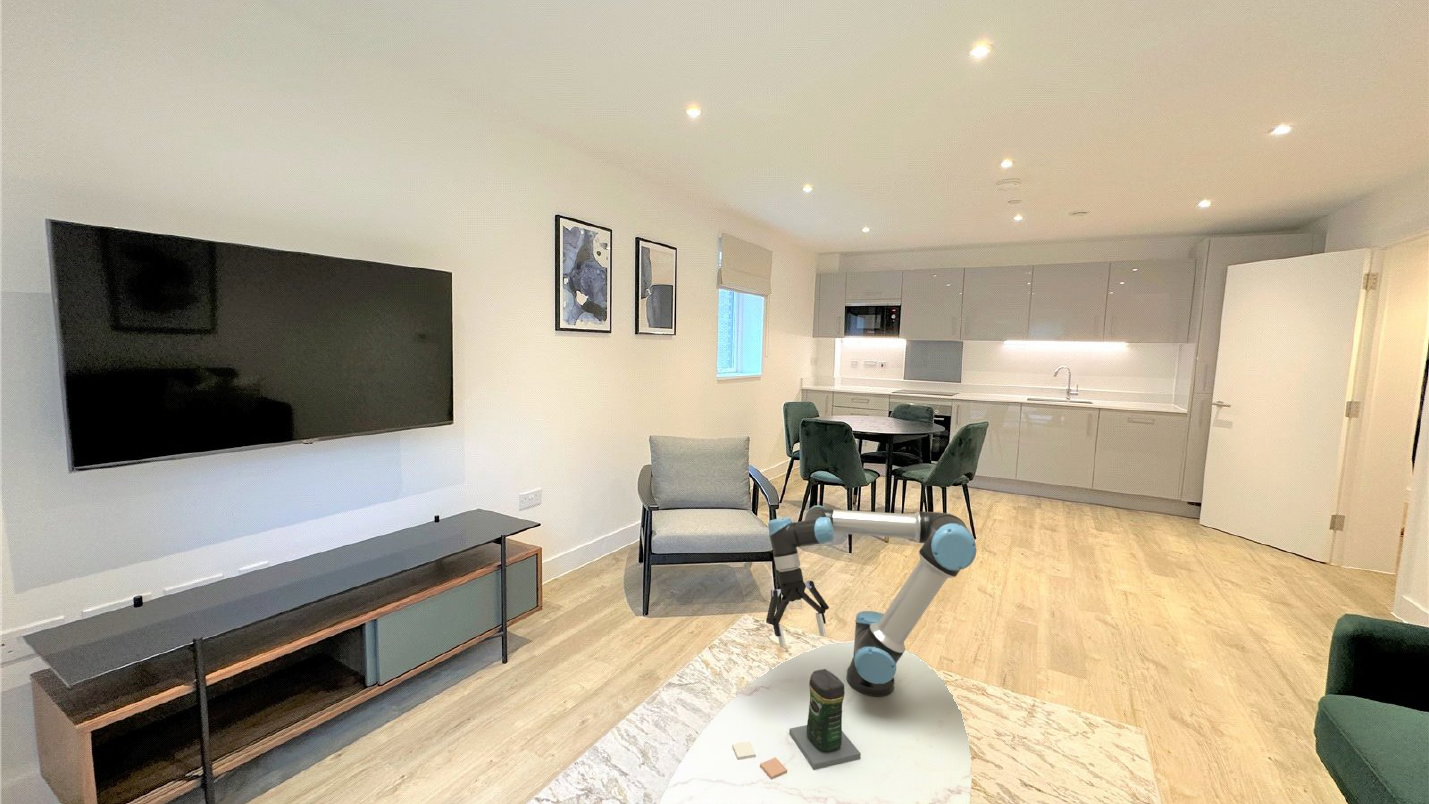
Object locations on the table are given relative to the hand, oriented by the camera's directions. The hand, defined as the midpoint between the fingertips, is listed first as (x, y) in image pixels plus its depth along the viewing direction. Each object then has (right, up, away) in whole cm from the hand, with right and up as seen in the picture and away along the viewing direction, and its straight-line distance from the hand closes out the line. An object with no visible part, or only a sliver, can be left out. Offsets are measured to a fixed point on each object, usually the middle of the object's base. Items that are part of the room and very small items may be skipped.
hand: (803, 641), depth 166 cm
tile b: (-19, -22, -18) cm, 34 cm away
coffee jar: (+3, -21, -14) cm, 26 cm away
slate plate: (+3, -22, -14) cm, 27 cm away
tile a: (-11, -23, -23) cm, 35 cm away
